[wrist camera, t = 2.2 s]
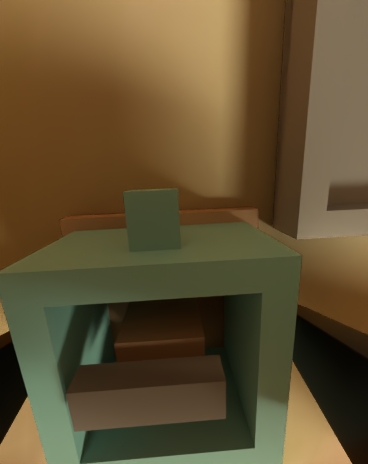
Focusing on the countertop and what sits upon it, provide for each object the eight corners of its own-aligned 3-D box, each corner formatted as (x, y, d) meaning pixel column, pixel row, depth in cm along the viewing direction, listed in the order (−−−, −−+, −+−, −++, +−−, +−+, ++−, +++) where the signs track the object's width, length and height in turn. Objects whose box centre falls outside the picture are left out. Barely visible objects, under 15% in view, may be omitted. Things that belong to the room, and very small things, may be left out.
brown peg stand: (246, 355, 12) (305, 498, 6) (95, 367, 11) (30, 526, 6) (251, 206, 10) (341, 240, 4) (68, 216, 9) (-62, 263, 4)
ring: (242, 361, 11) (282, 466, 7) (98, 371, 10) (54, 488, 6) (247, 182, 9) (308, 186, 5) (66, 190, 8) (-28, 201, 4)
